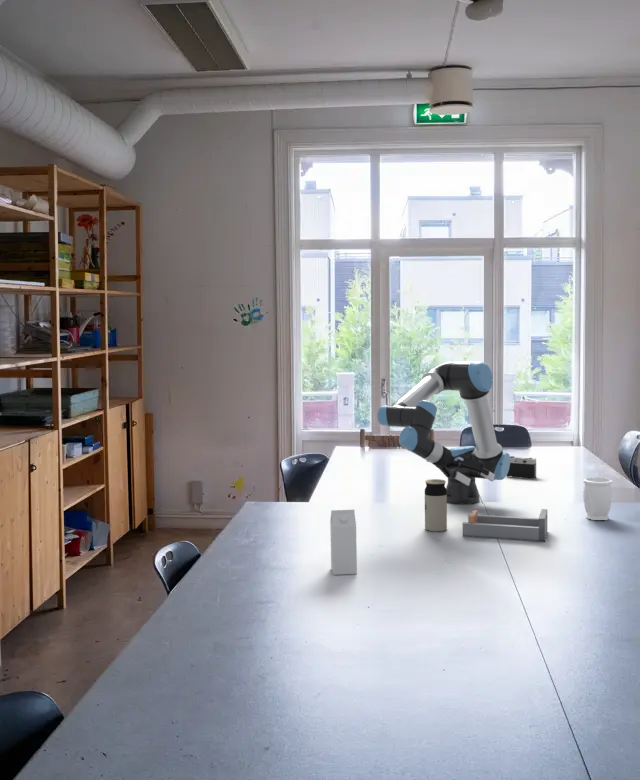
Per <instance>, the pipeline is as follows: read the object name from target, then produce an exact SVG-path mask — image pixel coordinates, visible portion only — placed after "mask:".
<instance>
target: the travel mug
mask: <svg viewBox="0 0 640 780" xmlns="http://www.w3.org/2000/svg"><path fill="white" fill-rule="evenodd" d="M424 483H425V488H424V529H425V530H426V531H428V530H429V531H428V532H433V531H440V532H444V530H445V531H446V530H447V529H448V519H447V518H448V509H447V508H448V502H447V490H446V486H445V485H446V484H447V481H446V480H445V479H439V478H438V479H437V478H431V479H430V478H429V479H426V480H425V482H424Z"/></svg>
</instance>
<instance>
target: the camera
mask: <svg viewBox="0 0 640 780" xmlns="http://www.w3.org/2000/svg"><path fill="white" fill-rule="evenodd" d="M509 456H510V467H509V471H508V474H507V476H512V477H511V478H519V477H522V479H531V478H535V479H536V478H537V458H533V457H517V456H513V455H509ZM507 476H506V477H507Z"/></svg>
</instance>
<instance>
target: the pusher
mask: <svg viewBox="0 0 640 780" xmlns="http://www.w3.org/2000/svg"><path fill="white" fill-rule="evenodd" d="M478 513H479V511H478V510H477V509H474V510H472V512H471V513H470V516H469V523H478V515H479V514H478Z"/></svg>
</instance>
